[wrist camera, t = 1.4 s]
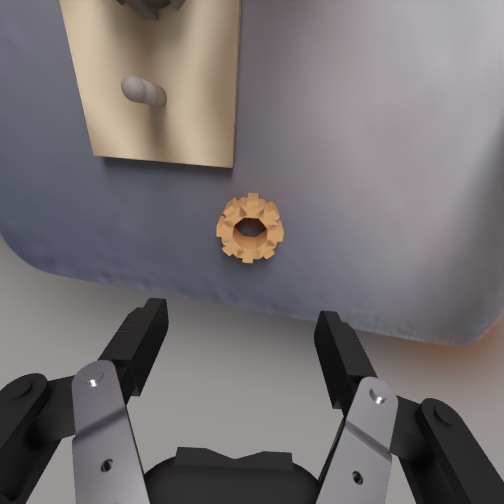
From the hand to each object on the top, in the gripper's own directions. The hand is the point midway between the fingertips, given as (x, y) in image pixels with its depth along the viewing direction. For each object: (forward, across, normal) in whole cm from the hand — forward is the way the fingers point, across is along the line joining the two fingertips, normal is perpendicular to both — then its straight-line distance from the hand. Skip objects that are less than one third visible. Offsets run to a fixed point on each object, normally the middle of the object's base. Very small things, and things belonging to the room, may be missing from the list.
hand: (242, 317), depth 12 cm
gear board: (+14, +8, -14) cm, 21 cm away
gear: (+14, 0, 0) cm, 14 cm away
